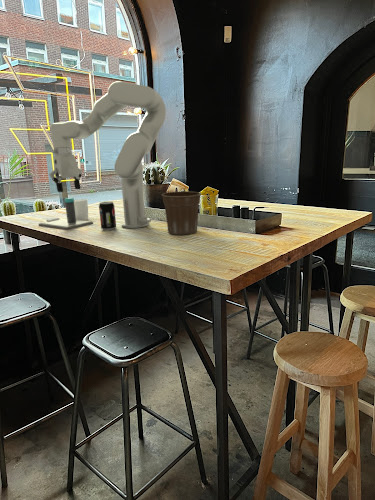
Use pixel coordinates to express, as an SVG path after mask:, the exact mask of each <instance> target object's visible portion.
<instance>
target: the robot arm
mask: <svg viewBox="0 0 375 500" xmlns="http://www.w3.org/2000/svg"><path fill="white" fill-rule="evenodd" d="M126 107H134V108H140V109H144V110H145V114H144V117H143V118H142V120H141V122H140V124H139V127H138V128H137V130H136V131H135V132H133V133H130V134H129V135H128V136H127V138H126V139H125V142H124V143H123V145H122V147H121V148H120V151H119V153H118V156H117V158H116V160H115V162H114V172H115V174H116V175H117V177H119V178H121V192H122V193H121V194H122V203H123V205H122V206H123V215H124V216H123V218H124V222H122V223H121V227H122V228H125V229H137V228H138V229H140V228H144V227H148V226H149V225H150V222H151V221H152V219H151V218H148V216H147V215H146V211H145V194H144V180H143V179H144V167H143V163H142V161H143V159H144V156H146V155H147V154H149V153H150V152H151V150H152V147H153V146H154V143H155V141H156V139H157V137H158V136H159V134H160V133H159V132H160V130H161V129H162V127H163V125H164V122H165V119H166V114H167V110H166V109H167V108H166V104H165V101H164V100H163V97H161V95H160V94H159V93H158V92H157V91H156V90H155V89H153V88H152V87H151V86H148V85H142V84H136V83H129V82H125V81H113V82H112V83H111V84H110V85H109V87H108V88H107V93H106V94H104V95H103V96H102V97H100V98H99V99H98V100H96V101H95V102H94V105H93V108H92V111H91V112H90V113H89V114H88V115H86V117H84V118H82V120H80V121H79V120H70V121H65V122H52V123H51V124H50V126H49V127H50V134H51V139H52V140H51V141H52V146H53V149H52V151H51V152H52V154H54V155H53V170H52V171H51V172H50V173H48V175H49V176H50V179H51V180H52V181H53V182H54V183H55V184H56V185H55V187H56V190H57V192H58V193H63V192H64V188H63V183H62V180H63V179H68V178H73V183H74V184H73V185H74V189H75V190H81V183H80V181H81V178H82V176H83V170H82V169H81V168H79V166H78V162H77V160H76V156H75V154H73V150H72V143H71V140H72V139H73V140H84V139H87V138H89V137H90V136H92V135H93V134H95V133H96V132H97V131H98V130H100V129H101V128H102V127H103V126H104V125H105V124H107V122H108V121H109V120H110V119H111V118H112V117H114V116H115V115H117V114H118V113H119V112H121V111H122V110H124V109H125V108H126Z"/></svg>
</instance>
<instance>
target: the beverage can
mask: <svg viewBox="0 0 375 500" xmlns="http://www.w3.org/2000/svg"><path fill="white" fill-rule="evenodd" d="M98 209H99V210H98V211H99V220H100V228H101V230H103V231H113V230H116V228H117V222H116V221H117V220H116V209H115V204H114V201H102V202H99V205H98Z"/></svg>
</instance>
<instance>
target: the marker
mask: <svg viewBox="0 0 375 500" xmlns="http://www.w3.org/2000/svg"><path fill="white" fill-rule="evenodd" d="M74 200H75V198H74V197H66V198H64V205H65V212H66V218H67V222H68V225H75V224H76V214H75V206H74Z"/></svg>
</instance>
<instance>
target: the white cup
mask: <svg viewBox="0 0 375 500" xmlns="http://www.w3.org/2000/svg"><path fill="white" fill-rule="evenodd" d="M74 206H75V214H76V220H83V221H88V219H89V202H88V199H87V198H79V199H74Z"/></svg>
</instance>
